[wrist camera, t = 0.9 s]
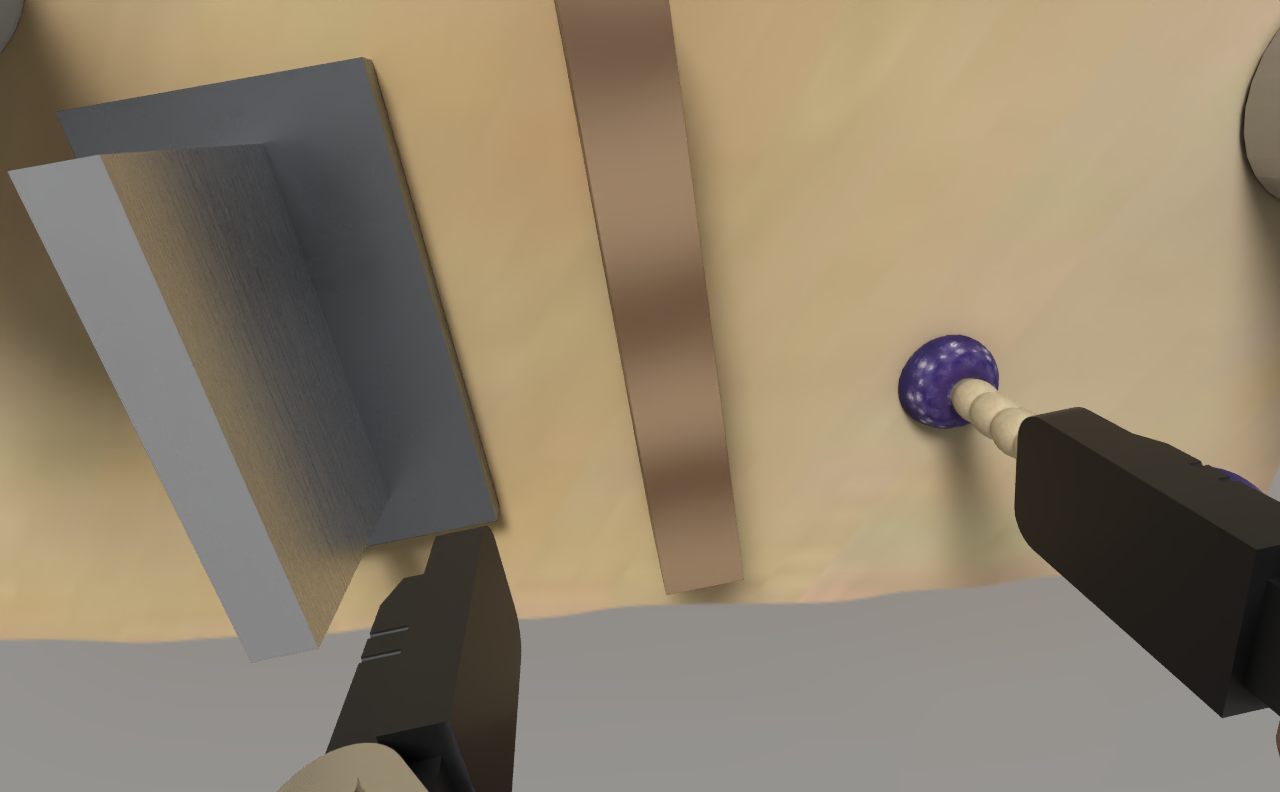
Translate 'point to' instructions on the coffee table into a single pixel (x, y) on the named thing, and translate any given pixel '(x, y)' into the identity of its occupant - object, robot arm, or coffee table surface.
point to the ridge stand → (268, 330)
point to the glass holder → (9, 19)
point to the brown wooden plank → (654, 277)
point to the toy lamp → (966, 392)
